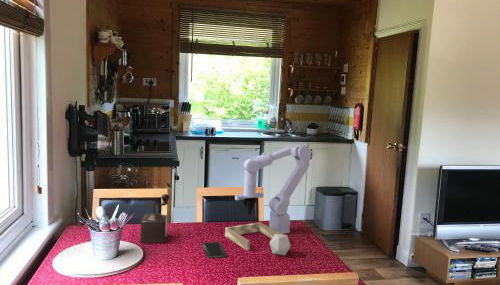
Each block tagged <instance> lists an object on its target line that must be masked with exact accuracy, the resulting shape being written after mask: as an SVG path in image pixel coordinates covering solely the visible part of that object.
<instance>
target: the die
mask: <svg viewBox="0 0 500 285" xmlns="http://www.w3.org/2000/svg"><path fill="white" fill-rule="evenodd" d="M269 246H270V250H271V253H272V254H273V255H278V256H283V257H284V256H286V255H287V253H288V251H289V249H290V248H291V242H290V239H289V236H288V235H287V234H283V235H282V234H275V235H274V237H273V238H271V239H270V241H269Z"/></svg>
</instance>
